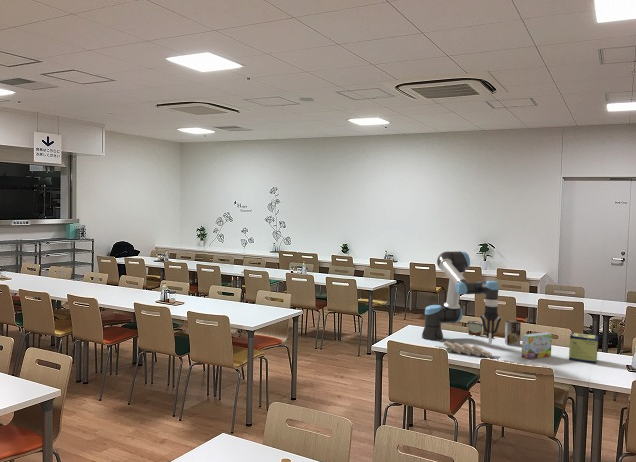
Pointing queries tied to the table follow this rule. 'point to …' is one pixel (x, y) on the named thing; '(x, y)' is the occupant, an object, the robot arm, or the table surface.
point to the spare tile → (446, 349)
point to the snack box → (536, 345)
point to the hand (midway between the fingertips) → (490, 343)
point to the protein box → (583, 347)
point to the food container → (475, 328)
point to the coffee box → (512, 333)
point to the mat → (474, 355)
